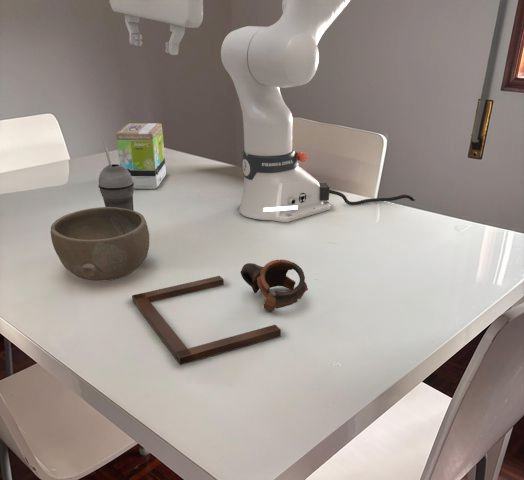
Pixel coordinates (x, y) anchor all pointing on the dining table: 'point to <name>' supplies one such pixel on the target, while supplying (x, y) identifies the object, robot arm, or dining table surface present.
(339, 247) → the dining table surface
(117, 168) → the beverage cup
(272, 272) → the broken brown mug
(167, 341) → the frame
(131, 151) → the tea box
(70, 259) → the bowl
